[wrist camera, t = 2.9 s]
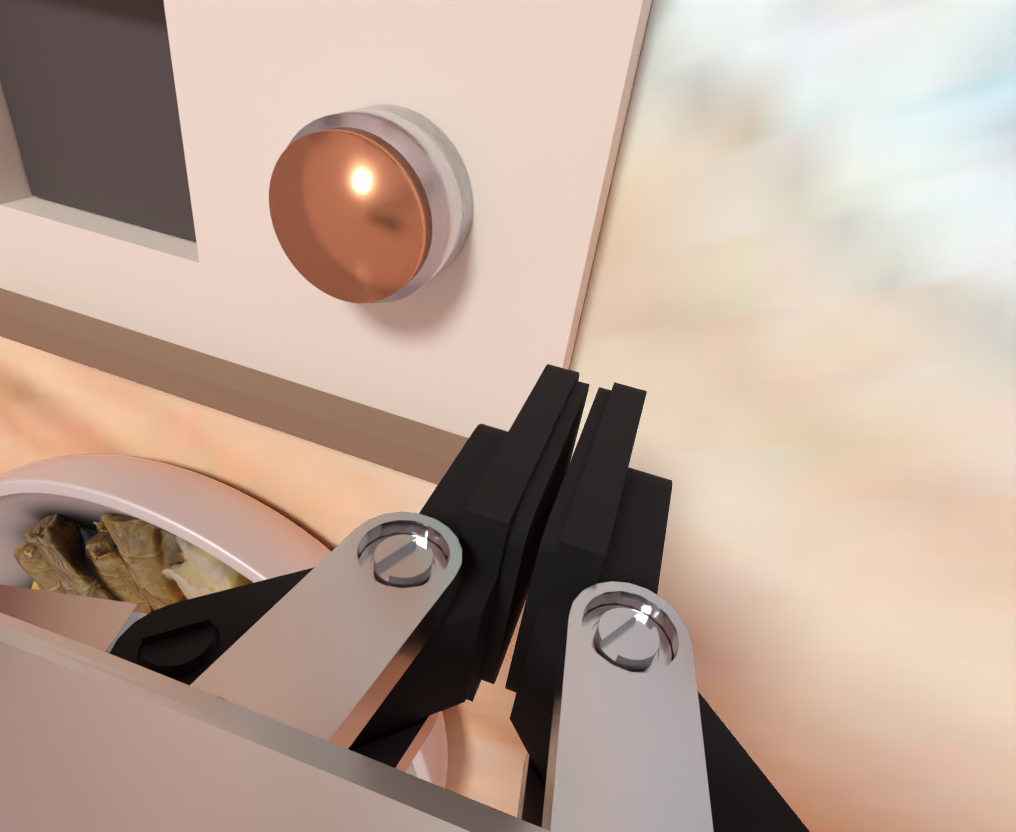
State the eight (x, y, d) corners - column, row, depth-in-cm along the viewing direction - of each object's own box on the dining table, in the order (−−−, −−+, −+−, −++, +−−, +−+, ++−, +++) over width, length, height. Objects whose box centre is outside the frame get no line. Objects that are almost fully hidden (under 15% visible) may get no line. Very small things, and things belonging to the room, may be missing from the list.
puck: (483, 124, 17) (437, 142, 15) (464, 295, 20) (423, 334, 18) (319, 88, 18) (251, 98, 16) (323, 256, 21) (265, 287, 19)
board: (689, -168, 14) (675, -207, 12) (547, 464, 24) (523, 513, 22) (-129, -267, 19) (-262, -310, 16) (39, 300, 29) (-28, 326, 26)
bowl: (-34, 347, 33) (-224, 426, 27) (514, 552, 28) (440, 710, 21) (87, 682, 50) (-11, 779, 44) (441, 848, 45) (388, 986, 38)
